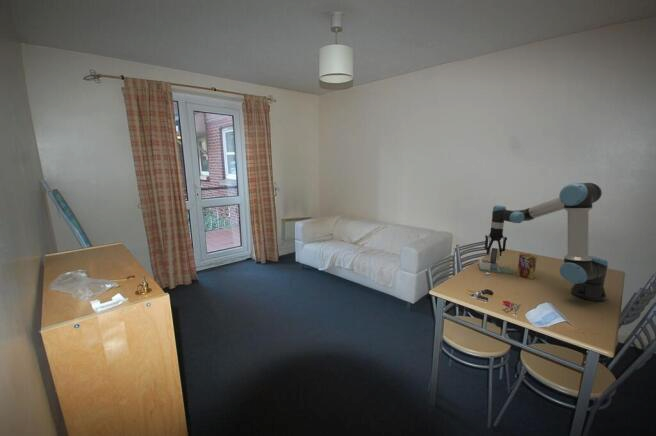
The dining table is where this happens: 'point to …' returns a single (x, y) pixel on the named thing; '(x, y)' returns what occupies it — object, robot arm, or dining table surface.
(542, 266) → the dining table surface
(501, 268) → the pitch
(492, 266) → the kicker
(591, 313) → the dining table surface
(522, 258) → the candy box
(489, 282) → the dining table surface
